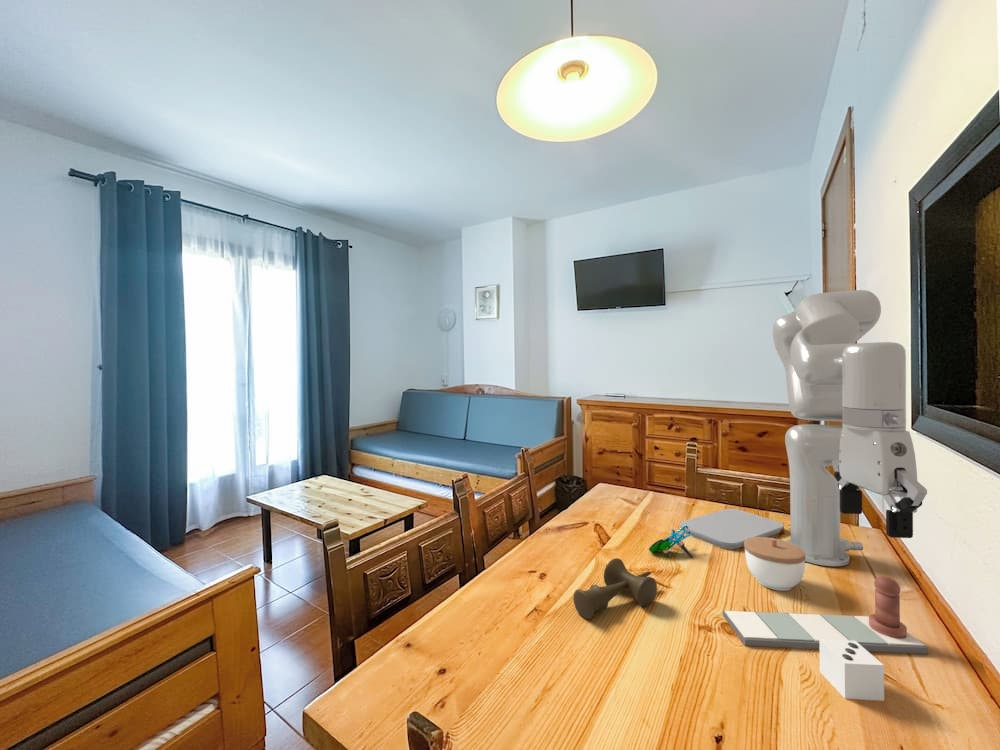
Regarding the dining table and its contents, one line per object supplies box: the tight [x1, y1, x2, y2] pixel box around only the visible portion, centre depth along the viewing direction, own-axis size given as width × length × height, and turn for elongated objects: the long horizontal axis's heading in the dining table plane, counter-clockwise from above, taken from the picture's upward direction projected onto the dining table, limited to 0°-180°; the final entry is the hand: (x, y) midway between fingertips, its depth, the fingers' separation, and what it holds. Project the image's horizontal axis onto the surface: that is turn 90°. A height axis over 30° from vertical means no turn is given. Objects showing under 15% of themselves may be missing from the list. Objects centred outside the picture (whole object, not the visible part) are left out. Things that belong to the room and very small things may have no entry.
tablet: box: [679, 508, 784, 550], centre depth 113 cm, size 16×26×2 cm, turn 118°
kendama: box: [572, 557, 658, 620], centre depth 80 cm, size 6×10×20 cm
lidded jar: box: [743, 536, 806, 592], centre depth 85 cm, size 11×11×9 cm
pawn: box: [868, 575, 908, 639], centre depth 68 cm, size 5×5×9 cm
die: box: [819, 639, 885, 702], centre depth 58 cm, size 5×5×5 cm
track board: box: [722, 610, 929, 655], centre depth 69 cm, size 28×8×1 cm, turn 84°
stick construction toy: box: [648, 525, 694, 559], centre depth 99 cm, size 12×7×8 cm
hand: (873, 524), depth 65 cm, fingers open, 9 cm apart
